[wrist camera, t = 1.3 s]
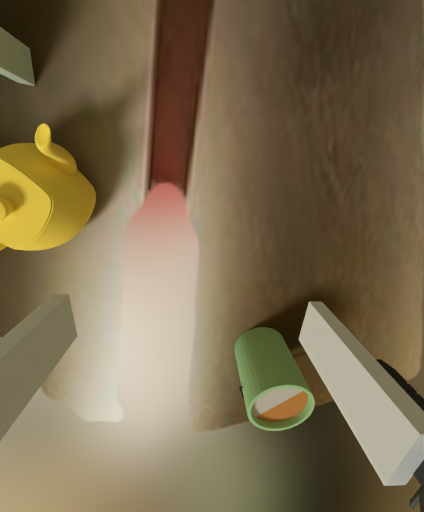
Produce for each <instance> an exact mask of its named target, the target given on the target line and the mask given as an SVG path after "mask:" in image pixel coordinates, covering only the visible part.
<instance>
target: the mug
mask: <svg viewBox="0 0 424 512" xmlns="http://www.w3.org/2000/svg"><path fill="white" fill-rule="evenodd" d="M234 350H235V356H236V361H237V366H238V371H239V375H240V380H241V385H242V386H240V390H241V388H242V390H243V393H242V390H241V393H242V396H243V398H244V400H245V405H246V409H247V414H248V418H249V420H250V421H251V423H252V424H254V425H255V426H256V427H258V428H261V429H264V430H269V431H277V430H285V429H289V428H292V427H294V426H297V425H298V424H300V423H302V422H303V421H304V420H306V419H307V418H308V417H309V416H310V414H311V413H312V411H313V409H314V405H315V400H314V397H313V395H312V393H311V391H310V389H309V387H308V385H307V383H306V381H305V380H304V378H303V376H302V374H301V372H300V370H299V368H298V366H297V364H296V362H295V360H294V358H293V356H292V354H291V352H290V350H289V348H288V347H287V345H286V343H285V341H284V339H283V337H282V335H281V334H280V333H279V332H278V331H276V330H274V329H272V328H268V327H258V328H253V329H251V330H248V331H247V332H245V333H244V334H242V335H241V336H240V337H239V338H238V340H237V342H236V344H235V349H234Z"/></svg>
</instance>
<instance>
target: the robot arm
mask: <svg viewBox="0 0 424 512" xmlns="http://www.w3.org/2000/svg"><path fill="white" fill-rule="evenodd" d="M76 337H77V332H76V327H75V322H74V318H73V313H72V308H71V303H70V298H69V295H67V294H53V295H52V296H51V297H49V298H48V299H47V300H46V301H45V302H43V303H42V304H41V305H40V306H39V307H38V308H36V309H35V310H34V311H33V312H32V313H31V314H29V315H28V316H27V317H26V318H25V319H24V320H22V321H21V322H20V323H19V324H18V325H17V326H15V327H14V328H13V329H12V330H11V331H9V332H8V333H7V334H6V335H5V336H4V337H2V338H1V339H0V441H1V439H2V438H3V436H4V435H5V434H6V432H7V431H8V430H9V428H10V427H11V426H12V424H13V423H14V422H15V420H16V419H17V417H18V416H19V415H20V413H21V412H22V410H23V409H24V408H25V407H26V405H27V404H28V402H29V401H30V400H31V398H32V397H33V396H34V394H35V393H36V392H37V390H38V389H39V387H40V386H41V385H42V383H43V382H44V381H45V379H46V378H47V377H48V375H49V374H50V372H51V371H52V370H53V368H54V367H55V366H56V364H57V363H58V362H59V360H60V359H61V358H62V356H63V355H64V353H65V352H66V351H67V349H68V348H69V347H70V345H71V344H72V343H73V341H74V340H75V338H76ZM299 341H300V343H301V344H302V346H303V348H304V349H305V351H306V353H307V354H308V356H309V358H310V360H311V361H312V363H313V365H314V366H315V368H316V370H317V372H318V373H319V375H320V377H321V378H322V380H323V382H324V383H325V385H326V387H327V389H328V390H329V392H330V394H331V395H332V397H333V399H334V401H335V402H336V404H337V406H338V407H339V409H340V411H341V413H342V414H343V415H344V418H345V419H346V421H347V423H348V424H349V426H350V428H351V430H352V431H353V433H354V435H355V436H356V438H357V440H358V442H359V443H360V445H361V447H362V448H363V450H364V452H365V454H366V455H367V457H368V459H369V460H370V462H371V464H372V465H373V467H374V469H375V471H376V472H377V474H378V476H379V477H380V479H381V481H382V482H383V484H384V485H385V486H389V485H406V484H407V482H408V481H409V480H410V479H411V477H412V476H413V475H414V476H415V477H416V479H417V480H418V481H419V483H420V484H421V487H420V488H419V490H418V491H417V492H416V493H415V494H414V496H413V497H412V498H411V499H410V504H409V507H411V508H412V509H414V508H415V507H416V506H417V505H418V503H419V502H420V509H421V512H424V399H423V398H422V397H421V396H420V395H419V394H417V392H416V391H415V389H414V388H413V387H412V386H410V384H407V381H406V380H405V379H404V378H403V377H402V376H401V375H400V374H399V373H398V372H397V371H396V370H395V369H393V368H392V367H391V366H389V365H388V364H386V363H385V362H384V361H382V360H376V359H375V358H374V357H373V356H372V355H371V354H370V353H369V352H368V351H367V350H366V349H365V348H364V347H363V346H362V344H361V343H360V342H359V341H358V340H357V339H356V338H355V337H354V336H353V335H352V334H351V333H350V332H349V330H348V329H347V328H346V327H345V326H344V325H343V324H342V323H341V322H340V321H339V320H338V319H337V318H336V316H335V315H334V314H333V313H332V312H331V311H330V310H329V309H328V308H327V307H326V306H325V305H324V304H323V302H312V301H309V303H308V307H307V311H306V314H305V318H304V321H303V325H302V328H301V332H300V336H299Z"/></svg>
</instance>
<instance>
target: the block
mask: <svg viewBox="0 0 424 512" xmlns="http://www.w3.org/2000/svg"><path fill="white" fill-rule="evenodd" d="M0 74H2V75H4V76H6V77H8V78H10V79H12V80H14V81H16V82H18V83H21V84H27V85H33V86H35V81H34V74H33V67H32V60H31V53H30V48H28V47H27V46H26V45H24V44H23V43H22V42H20V41H19V40H18V39H16V38H15V37H13V36H12V35H11V34H9V33H8V32H7V31H5V30H4V29H3V28H1V27H0Z"/></svg>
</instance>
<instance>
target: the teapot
mask: <svg viewBox="0 0 424 512" xmlns="http://www.w3.org/2000/svg"><path fill="white" fill-rule="evenodd" d="M35 143H36V144H35ZM35 143H17V144H11V145H8V146H5V147H3V148H0V251H1V250H3V249H4V248H6V247H7V246H8V247H10V248H12V249H18V250H44V249H49V248H53V247H56V246H59V245H61V244H63V243H65V242H67V241H69V240H70V239H72V238H73V237H74V236H76V235H77V234H78V233H79V232H80V231H81V230H82V229H83V228H84V226H85V225H86V223H87V222H88V220H89V219H90V217H91V214H92V212H93V209H94V207H95V203H96V193H95V190H94V187H93V186H92V184H91V183H90V182H89V181H88V180H87V179H86V178H85V177H84V176H83V175H82V174H81V173H80V172H79V171H78V170H77V165H76V161H75V160H74V158H73V156H72V155H71V154H70V153H69V152H68V151H67V150H65V149H64V148H63V147H61V146H59V145H57V144H55V143H52V142H51V131H50V128H49V126H48V125H47V124H45V123H43V124H41V125H40V126H39V127H38V128H37V130H36V134H35Z"/></svg>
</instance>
